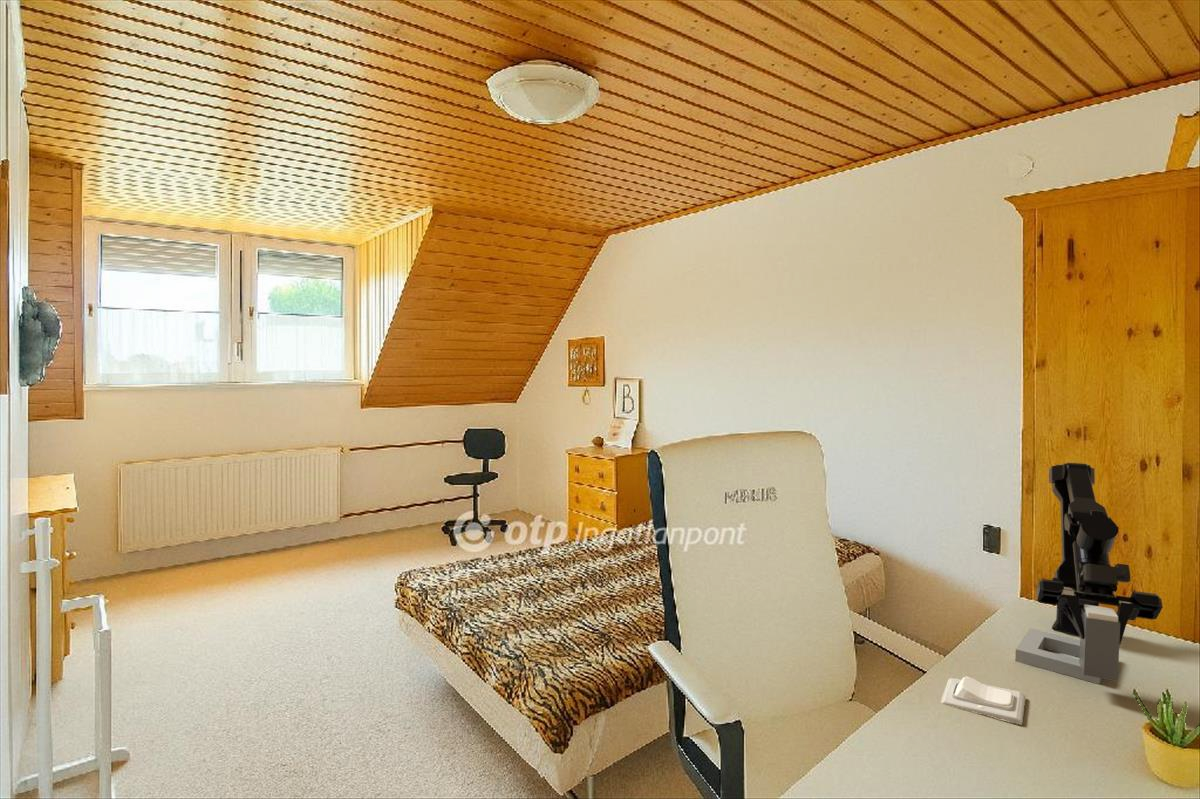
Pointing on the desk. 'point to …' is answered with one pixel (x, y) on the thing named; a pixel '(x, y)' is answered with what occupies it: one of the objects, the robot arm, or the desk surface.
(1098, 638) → the plug
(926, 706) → the desk surface
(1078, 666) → the socket plate
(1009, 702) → the light switch
